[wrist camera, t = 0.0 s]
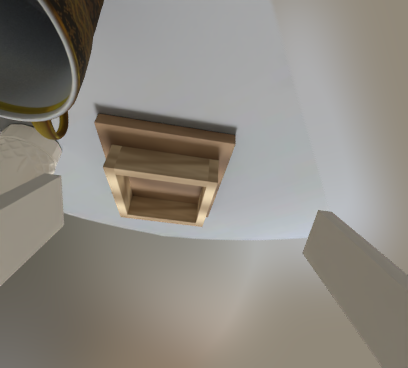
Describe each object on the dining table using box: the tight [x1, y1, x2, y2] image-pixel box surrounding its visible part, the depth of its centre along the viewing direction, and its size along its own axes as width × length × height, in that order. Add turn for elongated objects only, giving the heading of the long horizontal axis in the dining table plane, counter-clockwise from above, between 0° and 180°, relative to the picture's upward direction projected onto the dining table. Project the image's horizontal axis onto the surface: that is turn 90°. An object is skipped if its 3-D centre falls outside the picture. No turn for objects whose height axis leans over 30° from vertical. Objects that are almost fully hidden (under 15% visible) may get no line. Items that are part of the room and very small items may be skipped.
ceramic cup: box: [0, 0, 104, 140], centre depth 14 cm, size 13×10×10 cm
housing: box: [94, 114, 235, 227], centre depth 34 cm, size 20×16×5 cm
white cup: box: [0, 124, 62, 195], centre depth 28 cm, size 8×8×10 cm
